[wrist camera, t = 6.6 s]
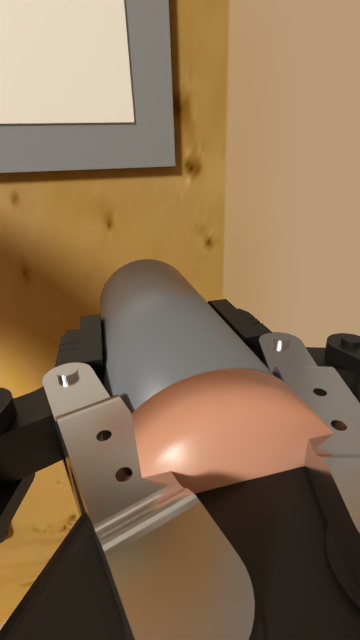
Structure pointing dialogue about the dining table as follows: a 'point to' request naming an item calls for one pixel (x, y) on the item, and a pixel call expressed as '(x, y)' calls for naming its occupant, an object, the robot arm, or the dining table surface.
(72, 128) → the drawing board
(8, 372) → the dining table surface
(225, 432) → the grey cylindrical piece
